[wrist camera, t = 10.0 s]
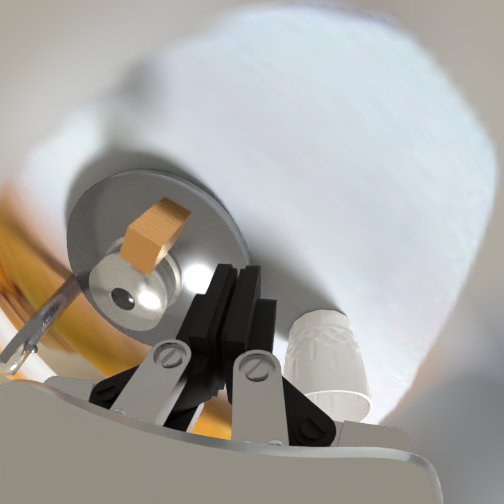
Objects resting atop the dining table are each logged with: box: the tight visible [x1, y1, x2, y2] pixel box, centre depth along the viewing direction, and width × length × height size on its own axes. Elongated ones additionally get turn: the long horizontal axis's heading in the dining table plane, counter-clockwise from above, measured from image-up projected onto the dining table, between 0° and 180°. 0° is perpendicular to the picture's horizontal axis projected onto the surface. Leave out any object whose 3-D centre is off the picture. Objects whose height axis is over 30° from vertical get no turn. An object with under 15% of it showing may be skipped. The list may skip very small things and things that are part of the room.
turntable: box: [67, 169, 252, 347], centre depth 22 cm, size 19×19×7 cm
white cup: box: [283, 309, 373, 423], centre depth 24 cm, size 8×8×10 cm
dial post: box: [0, 275, 82, 375], centre depth 23 cm, size 6×2×16 cm, turn 108°
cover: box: [89, 235, 183, 331], centre depth 22 cm, size 8×8×4 cm
